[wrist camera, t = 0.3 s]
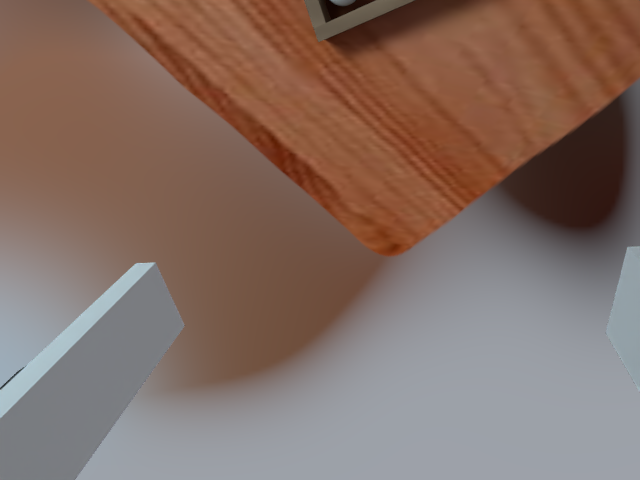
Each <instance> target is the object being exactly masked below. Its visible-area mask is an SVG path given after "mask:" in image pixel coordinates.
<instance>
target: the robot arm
mask: <svg viewBox="0 0 640 480" xmlns="http://www.w3.org/2000/svg"><path fill="white" fill-rule="evenodd" d="M184 326H185V325H184V323H183V321H182V319H181V317H180V314H179V313H178V310H177V308H176V306H175V304H174V301H173V299H172V297H171V295H170V293H169V291H168V289H167V286H166V284H165V282H164V280H163V278H162V276H161V274H160V271H159V269H158V267H157V265H156V263H136V264H135V265H134V266H133V267H132V268H131V269H129V270H128V271H127V272H126V273H125V274H124V275H123V276H122V277H121V278H120V279H119V280H118V281H117V282H116V283H115V284H113V285H112V286H111V287H110V288H109V289H108V290H107V291H106V292H105V293H104V294H103V295H102V296H101V297H99V298H98V299H97V300H96V301H95V302H94V303H93V304H92V305H91V306H90V307H89V308H88V309H87V310H86V311H85V312H84V313H82V314H81V315H80V316H79V317H78V318H77V319H76V320H75V321H74V322H73V323H72V324H71V325H70V326H68V328H66V329H65V330H64V331H63V332H62V333H61V334H60V335H59V336H58V337H57V338H56V339H55V340H54V341H53V342H51V343H50V344H49V345H48V346H47V347H46V348H45V349H44V350H43V351H42V352H41V353H40V354H39V355H37V357H35V358H34V359H33V360H32V361H31V362H30V363H29V364H28V365H26V366H25V367H23V368H22V369H21V370H19V371H18V372H17V373H16V374H14V376H12V377H11V378H10V379H9V380H8V381H7V382H6V383H5V384H4V385H3V386H2V387H1V388H0V480H75V479H76V478H77V476H78V475H79V473H80V472H81V471H82V469H83V468H84V466H85V465H86V464H87V462H88V461H89V459H90V458H91V457H92V455H93V454H94V452H95V451H96V449H97V448H98V447H99V445H100V444H101V442H102V441H103V440H104V438H105V437H106V436H107V434H108V433H109V431H110V430H111V428H112V427H113V426H114V424H115V423H116V421H117V420H118V419H119V417H120V416H121V414H122V413H123V411H124V410H125V409H126V407H127V406H128V404H129V403H130V402H131V400H132V399H133V397H134V396H135V395H136V393H137V392H138V390H139V389H140V388H141V386H142V385H143V383H144V382H145V381H146V379H147V378H148V377H149V375H150V374H151V372H152V371H153V369H154V368H155V367H156V365H157V364H158V362H159V361H160V360H161V358H162V357H163V355H164V354H165V353H166V351H167V350H168V348H169V347H170V345H171V344H172V343H173V341H174V340H175V338H176V337H177V336H178V334H179V333H180V332H181V330H182V329H183V327H184ZM606 335H607V336H608V338H609V340H610V342H611V343H612V345H613V347H614V349H615V350H616V352H617V354H618V355H619V357H620V359H621V361H622V362H623V364H624V366H625V368H626V369H627V371H628V373H629V374H630V376H631V378H632V380H633V381H634V383H635V385H636V387H637V388H638V390H639V392H640V246H638V247H627V251H626V255H625V259H624V263H623V266H622V271H621V274H620V279H619V282H618V286H617V290H616V294H615V298H614V302H613V306H612V309H611V313H610V317H609V321H608V325H607V329H606Z"/></svg>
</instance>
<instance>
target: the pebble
mask: <svg viewBox="0 0 640 480" xmlns="http://www.w3.org/2000/svg"><path fill="white" fill-rule="evenodd" d="M330 1H331V2H332V3H334V4H336V5H338V6H348V5H350V4H352V3H354V2H355V1H356V0H330Z"/></svg>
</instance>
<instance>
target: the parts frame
mask: <svg viewBox="0 0 640 480" xmlns="http://www.w3.org/2000/svg"><path fill="white" fill-rule="evenodd" d="M304 1H305V4H306V7H307V10H308V13H309V16H310V19H311V22H312V25H313V28H314V30H315V33H316V36H317V39H318V42H320V41H322V40H325V39H327V38H330V37H332V36H334V35H337V34H339V33H341V32H344V31H346V30H348V29H351V28H353V27H355V26H357V25H360V24H362V23H364V22H367V21H369V20H371V19H374V18H376V17H378V16H381V15H383V14H385V13H387V12H390V11H392V10H394V9H397V8H399V7H401V6H404V5H406V4H408V3H411V2H413V1H415V0H376V1H374V2H371V3H369V4H367V5H365V6H362V7H360V8H358V9H356V10H354V11H351V12H349V13H347V14H345V15H342V16H340V17H338V18H336V19H334V20H331V18H330V15H329V12H328V9H327V6H326V3H325V0H304Z"/></svg>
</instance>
